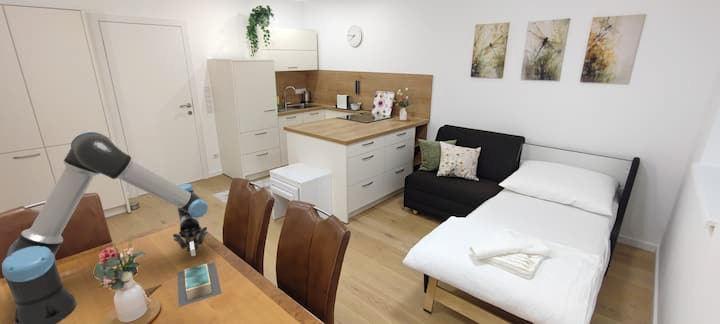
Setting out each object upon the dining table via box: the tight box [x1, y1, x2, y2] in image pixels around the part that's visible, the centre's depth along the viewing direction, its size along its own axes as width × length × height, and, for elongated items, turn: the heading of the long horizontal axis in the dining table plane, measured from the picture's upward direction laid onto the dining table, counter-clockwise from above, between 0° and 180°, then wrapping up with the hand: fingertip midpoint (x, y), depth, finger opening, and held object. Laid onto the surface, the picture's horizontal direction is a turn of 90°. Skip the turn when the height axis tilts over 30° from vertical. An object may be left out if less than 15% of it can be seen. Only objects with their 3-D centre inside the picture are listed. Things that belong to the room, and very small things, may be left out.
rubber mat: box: [176, 261, 223, 308], centre depth 126 cm, size 14×22×1 cm, turn 29°
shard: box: [143, 284, 163, 298], centre depth 119 cm, size 11×8×2 cm
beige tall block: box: [184, 263, 212, 300], centre depth 124 cm, size 8×4×14 cm
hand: (193, 252), depth 124 cm, fingers closed
